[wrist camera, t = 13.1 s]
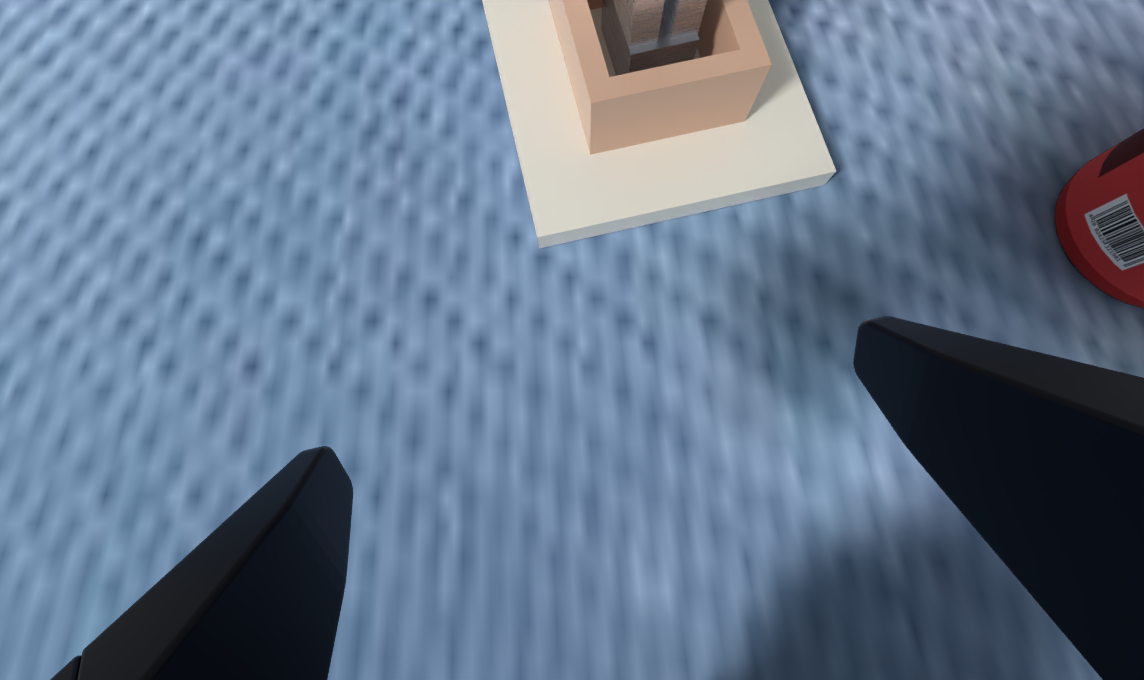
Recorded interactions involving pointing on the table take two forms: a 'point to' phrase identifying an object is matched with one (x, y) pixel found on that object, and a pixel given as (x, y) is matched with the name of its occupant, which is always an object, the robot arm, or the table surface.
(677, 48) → the slotted copper-topped post
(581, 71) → the holder
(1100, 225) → the canned food
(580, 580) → the table surface
